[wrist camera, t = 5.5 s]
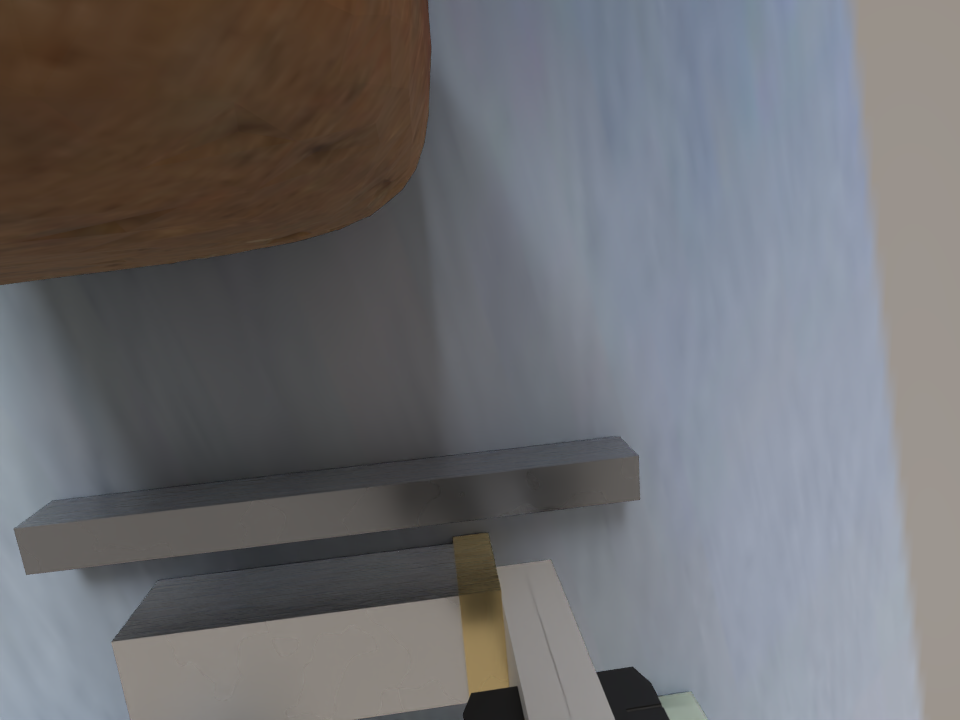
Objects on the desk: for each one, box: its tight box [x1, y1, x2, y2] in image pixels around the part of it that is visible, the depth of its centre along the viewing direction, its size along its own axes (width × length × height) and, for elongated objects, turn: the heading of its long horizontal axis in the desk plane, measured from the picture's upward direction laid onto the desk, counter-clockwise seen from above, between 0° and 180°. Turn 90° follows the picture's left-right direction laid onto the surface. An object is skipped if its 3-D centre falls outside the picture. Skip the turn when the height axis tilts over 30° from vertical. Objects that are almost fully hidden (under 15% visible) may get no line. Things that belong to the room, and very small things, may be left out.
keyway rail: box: [14, 436, 640, 575], centre depth 15 cm, size 1×15×2 cm, turn 94°
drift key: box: [112, 533, 509, 720], centre depth 15 cm, size 3×9×3 cm, turn 95°
